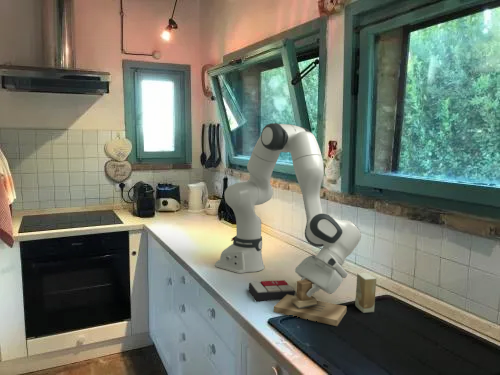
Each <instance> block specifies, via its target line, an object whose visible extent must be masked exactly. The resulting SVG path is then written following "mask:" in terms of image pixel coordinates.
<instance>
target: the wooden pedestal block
mask: <svg viewBox="0 0 500 375" xmlns="http://www.w3.org/2000/svg"><path fill="white" fill-rule="evenodd" d="M312 287H313V284H312V282H311V281H309V280H307V279H305V280H301V279H300V280H297V281H296V294H295V296H294V297H292V302H291V303H292V304H293V305H295V306H296V307H298V308H299V309H300V308H305V307H310V306H314V305H317V301H318V299H317V298H316V297H314V296H313V295H312V296H311V297H308V296H307V295H306V294H305V292H306V291H307V289H308V290H310V289H311V288H312Z"/></svg>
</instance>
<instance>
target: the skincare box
mask: <svg viewBox="0 0 500 375" xmlns="http://www.w3.org/2000/svg"><path fill="white" fill-rule="evenodd" d="M376 288H377V278H376V277H374V276H373V275H372V273H371V274H370V273H369V272H357V273H356V290H355V304H354V305H355V307H356V308H357V309H358V310H359V311H361V313H364V314H365V313H375V304H376V291H377V289H376Z"/></svg>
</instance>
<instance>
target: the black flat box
mask: <svg viewBox="0 0 500 375" xmlns="http://www.w3.org/2000/svg"><path fill="white" fill-rule="evenodd" d="M248 293H249V294H250V296H251V297H252V298H253V300H254V301H255V302H256V303H260V302H261V303H262V302H268V301H280V300H281V299H283V298H284V297H285V296H286V295H287V294H288V295H293V296H296V290H295V289H294V288H293V287H292V286H291V285H290V284H289V283H288V282H287V281H286V280H284V279H283V280H263V281H262V280H261V281H250V282H248Z"/></svg>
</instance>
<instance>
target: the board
mask: <svg viewBox="0 0 500 375" xmlns="http://www.w3.org/2000/svg"><path fill="white" fill-rule="evenodd" d="M292 297H294V296H293V295H288V294H287V295H286V296H285V297H284V298H283V299H281V300H278V302H277V303H276V304H275V305H273V312H274V313H276V314H281V315H286V316H289V315H293V316H292V317H294V316H297V317H296V318H298V317H300V318H299V319H303V320H307V319H308V321H312V322H316V321H317V322H316V323H322V324H326V325H331V326H335V327H338V326H339V325H340V323H341V321H342V319H343V318H344V316H345V315H346V314H347V309H348V308H347V306H346V305H342V304H336V303H331V302H328V301H327V302H326V301H322V300H317V305H314V306H310V307H305V308H300V309H299V308H298V307H296V306H295V305H293V304H292V303H291V302H292Z"/></svg>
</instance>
